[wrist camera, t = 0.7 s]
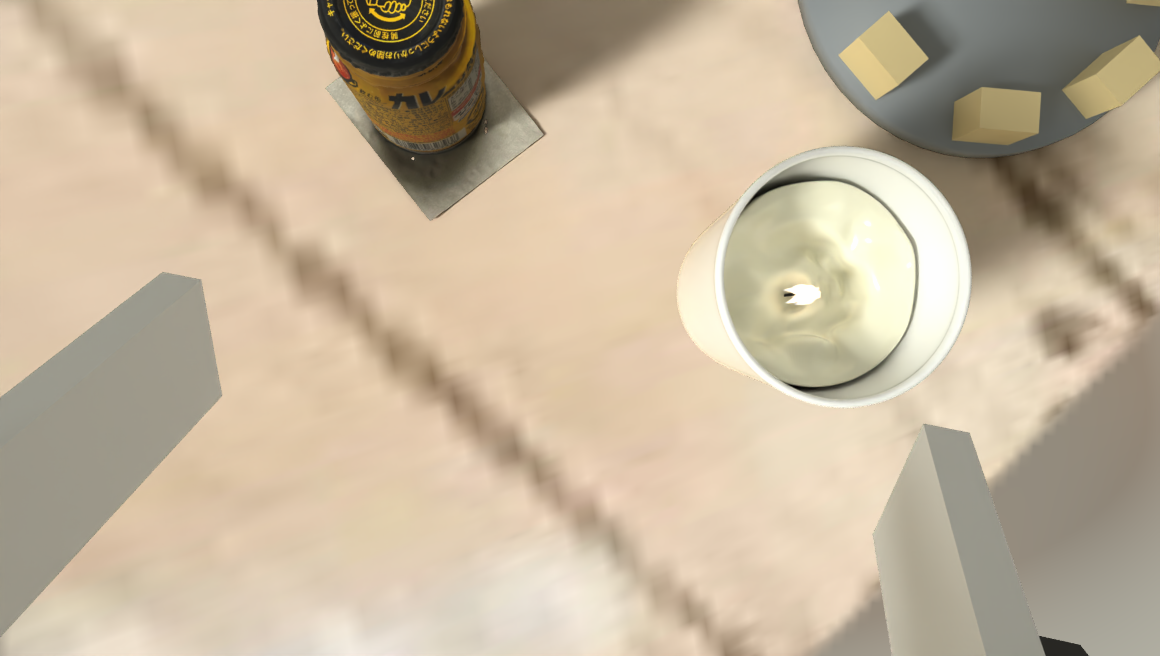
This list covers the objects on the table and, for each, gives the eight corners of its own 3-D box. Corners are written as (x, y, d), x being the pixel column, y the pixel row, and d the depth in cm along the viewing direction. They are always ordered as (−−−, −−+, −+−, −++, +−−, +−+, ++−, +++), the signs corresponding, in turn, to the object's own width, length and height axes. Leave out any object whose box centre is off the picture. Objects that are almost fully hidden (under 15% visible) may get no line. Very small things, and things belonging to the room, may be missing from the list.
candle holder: (677, 402, 41) (740, 429, 29) (646, 214, 41) (696, 166, 29) (859, 370, 42) (993, 384, 30) (829, 185, 42) (950, 126, 30)
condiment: (440, 3, 41) (406, -134, 29) (543, 135, 41) (551, 54, 29) (326, 89, 40) (242, -14, 28) (430, 222, 41) (391, 175, 29)
